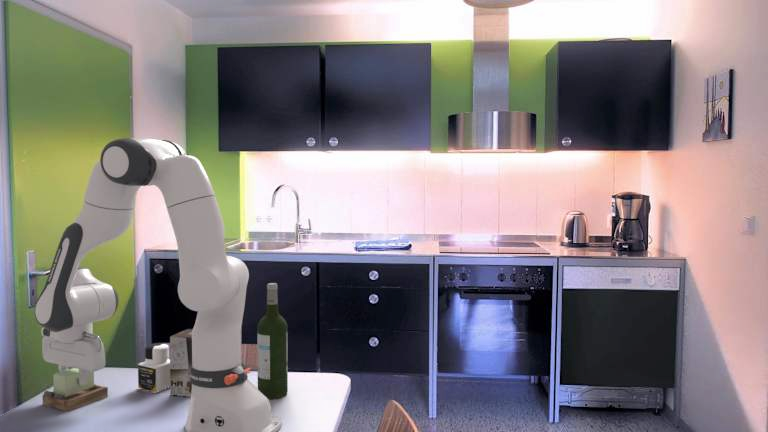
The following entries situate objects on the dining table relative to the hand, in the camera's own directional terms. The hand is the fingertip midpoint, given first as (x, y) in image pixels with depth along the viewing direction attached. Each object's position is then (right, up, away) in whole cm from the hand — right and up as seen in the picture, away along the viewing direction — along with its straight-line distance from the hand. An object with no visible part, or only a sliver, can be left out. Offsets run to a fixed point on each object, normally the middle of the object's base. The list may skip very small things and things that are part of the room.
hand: (74, 382), depth 142 cm
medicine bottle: (+17, -5, +10) cm, 21 cm away
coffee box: (+27, -5, +8) cm, 29 cm away
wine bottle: (+51, -5, +5) cm, 51 cm away
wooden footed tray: (0, -5, 0) cm, 5 cm away
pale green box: (0, -2, 0) cm, 2 cm away
